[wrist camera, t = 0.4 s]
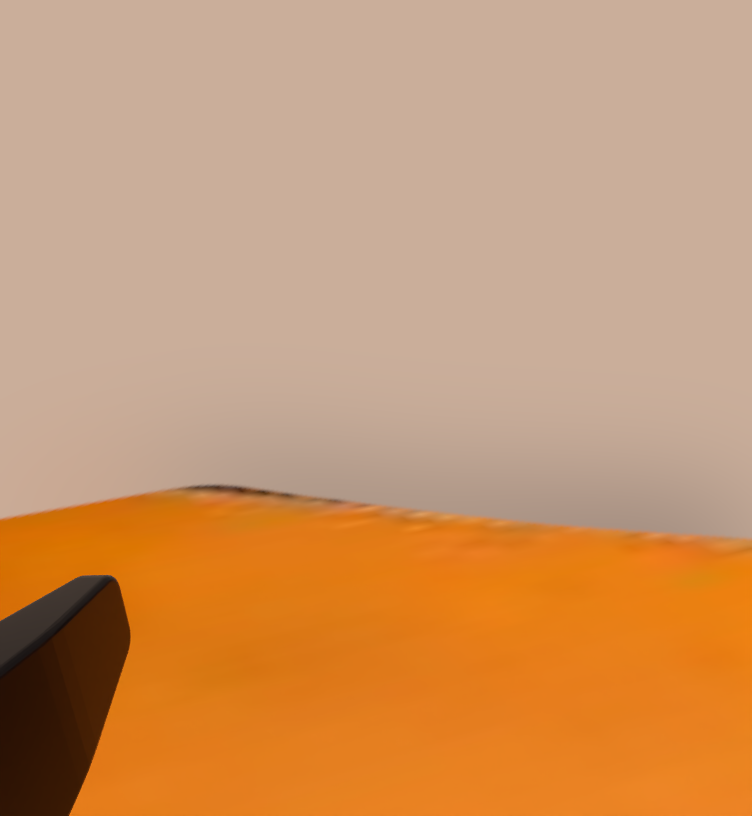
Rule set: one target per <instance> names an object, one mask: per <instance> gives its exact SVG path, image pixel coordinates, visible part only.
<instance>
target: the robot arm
mask: <svg viewBox="0 0 752 816" xmlns="http://www.w3.org/2000/svg"><path fill="white" fill-rule="evenodd" d="M129 646H130V627H129V623H128V619H127V615H126V610H125V606H124V602H123V598H122V594H121V590H120V586H119V584H118V582H117V580H116V579H115V578H114V577H112V576H111V575H90V576H80V577H77V578H75V579H74V580H72V581H70V582H68V583H67V584H65V585H63V586H61V587H60V588H58V589H56V590H54V591H53V592H51V593H49V594H47V595H45V596H44V597H42V598H40V599H38V600H37V601H35V602H33V603H31V604H30V605H28V606H26V607H24V608H22V609H21V610H19V611H17V612H15V613H14V614H12V615H10V616H8V617H7V618H5V619H3V620H1V621H0V816H69V814H70V812H71V810H72V808H73V805H74V803H75V801H76V799H77V796H78V794H79V792H80V789H81V787H82V785H83V782H84V780H85V778H86V775H87V773H88V770H89V768H90V765H91V763H92V760H93V757H94V754H95V751H96V749H97V746H98V743H99V740H100V737H101V734H102V730H103V727H104V724H105V721H106V718H107V715H108V712H109V709H110V706H111V703H112V700H113V697H114V694H115V691H116V687H117V684H118V681H119V678H120V675H121V672H122V669H123V666H124V663H125V660H126V657H127V654H128V650H129Z"/></svg>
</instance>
